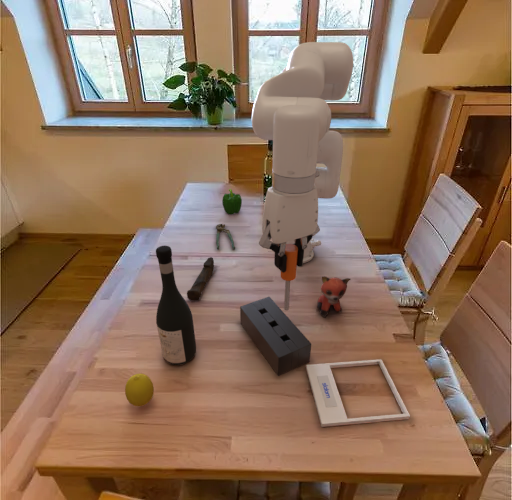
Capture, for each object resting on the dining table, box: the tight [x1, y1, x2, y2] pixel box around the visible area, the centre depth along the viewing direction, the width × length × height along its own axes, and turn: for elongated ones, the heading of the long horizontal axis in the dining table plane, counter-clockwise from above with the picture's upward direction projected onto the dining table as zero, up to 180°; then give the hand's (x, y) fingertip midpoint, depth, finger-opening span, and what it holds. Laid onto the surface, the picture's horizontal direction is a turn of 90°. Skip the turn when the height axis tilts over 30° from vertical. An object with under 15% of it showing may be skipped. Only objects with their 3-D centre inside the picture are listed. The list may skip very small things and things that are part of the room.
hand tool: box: [186, 256, 215, 302], centre depth 109 cm, size 19×4×5 cm, turn 166°
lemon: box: [124, 373, 155, 407], centre depth 73 cm, size 6×6×8 cm
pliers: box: [215, 223, 236, 251], centre depth 135 cm, size 20×6×1 cm, turn 9°
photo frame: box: [305, 358, 411, 428], centre depth 76 cm, size 15×1×18 cm
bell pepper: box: [221, 188, 243, 216], centre depth 152 cm, size 8×8×10 cm
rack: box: [239, 296, 312, 377], centre depth 88 cm, size 9×19×6 cm, turn 28°
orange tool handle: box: [280, 244, 298, 311], centre depth 74 cm, size 3×3×16 cm
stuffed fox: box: [316, 275, 351, 318], centre depth 98 cm, size 8×11×12 cm
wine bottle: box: [155, 245, 197, 366], centre depth 78 cm, size 8×8×30 cm
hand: (288, 265), depth 72 cm, fingers closed on orange tool handle, 3 cm apart
